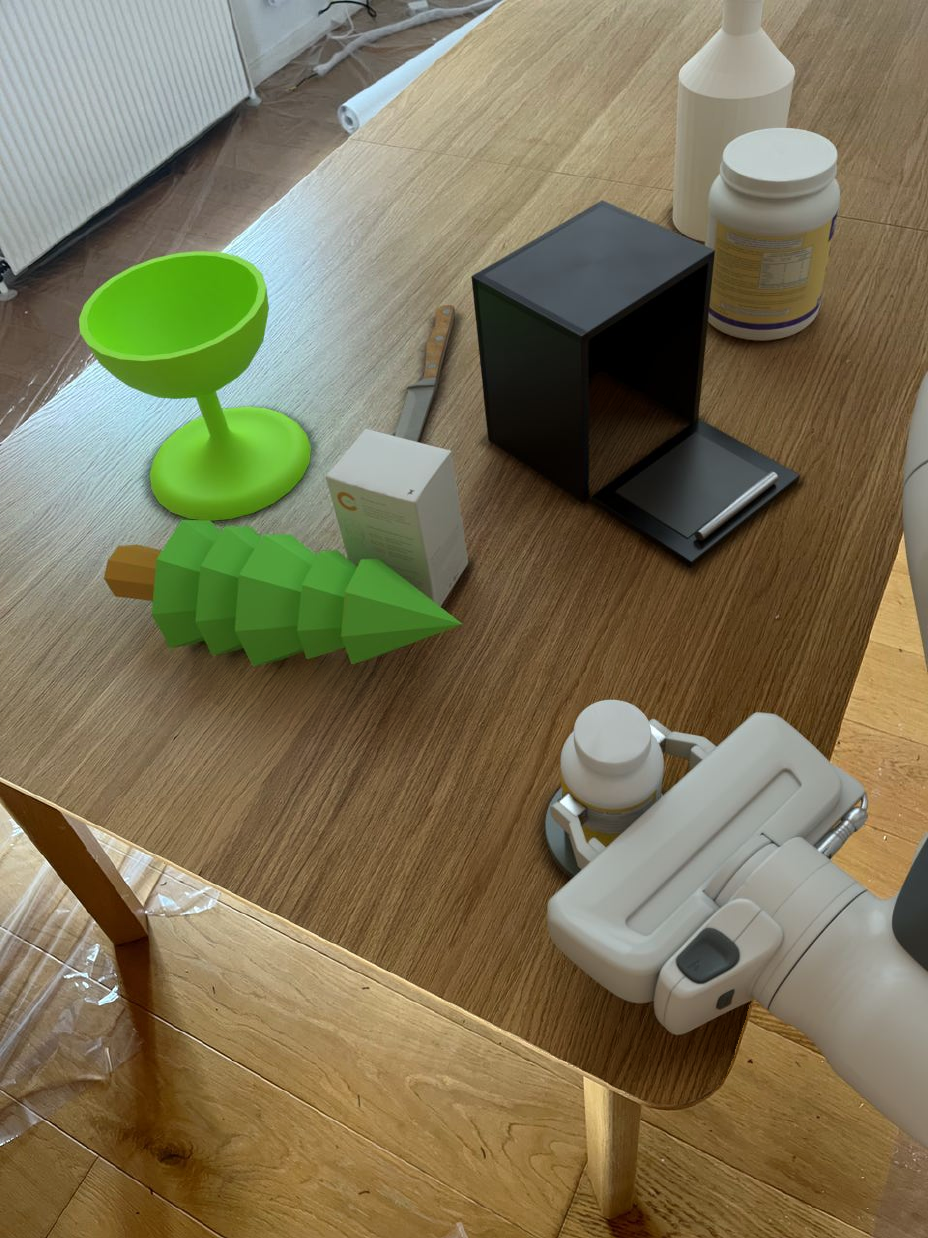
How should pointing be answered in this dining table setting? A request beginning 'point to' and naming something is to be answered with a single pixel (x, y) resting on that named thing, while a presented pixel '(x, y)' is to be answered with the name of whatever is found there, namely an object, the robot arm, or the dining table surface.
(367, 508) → the small box
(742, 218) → the supplement tub
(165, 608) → the decorative tree
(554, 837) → the trivet
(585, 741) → the pill bottle
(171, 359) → the wineglass
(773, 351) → the dining table surface
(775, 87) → the bottle
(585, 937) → the robot arm
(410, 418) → the knife
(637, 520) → the oven
